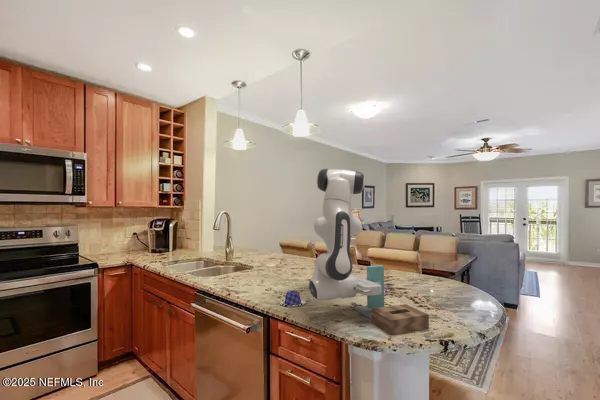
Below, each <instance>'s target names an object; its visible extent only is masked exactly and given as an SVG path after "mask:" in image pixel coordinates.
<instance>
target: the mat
mask: <svg viewBox="0 0 600 400" xmlns="http://www.w3.org/2000/svg"><path fill="white" fill-rule="evenodd" d="M384 307H387V306H386V305H384ZM379 308H382V307H379ZM352 309H353V310H354V311H356V312H358V313H359V314H360V315H362V316H363V317H366V318H367V319H369V320H371V321H372V309H375V308H372V309H369V308H368V307H367V305H361V306H355V307H354V306H353V307H352Z"/></svg>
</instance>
